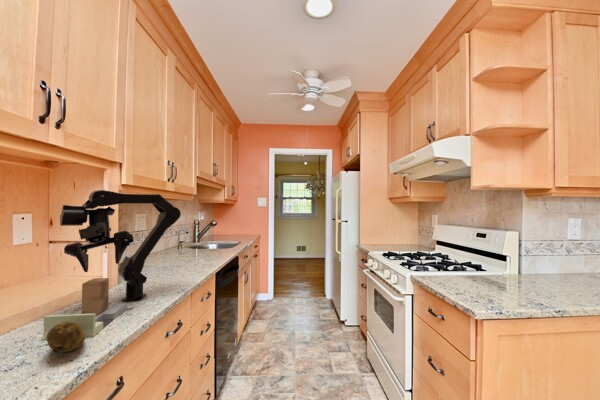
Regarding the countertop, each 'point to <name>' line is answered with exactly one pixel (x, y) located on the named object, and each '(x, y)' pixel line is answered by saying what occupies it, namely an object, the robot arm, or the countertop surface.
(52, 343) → the potato
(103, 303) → the walnut block
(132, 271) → the robot arm
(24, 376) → the countertop surface
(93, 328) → the trap board
